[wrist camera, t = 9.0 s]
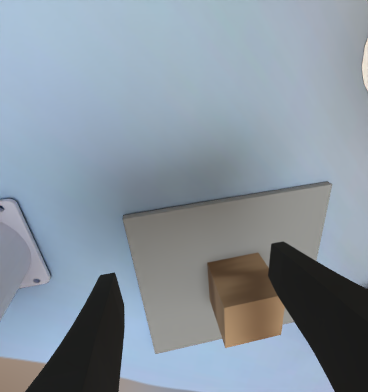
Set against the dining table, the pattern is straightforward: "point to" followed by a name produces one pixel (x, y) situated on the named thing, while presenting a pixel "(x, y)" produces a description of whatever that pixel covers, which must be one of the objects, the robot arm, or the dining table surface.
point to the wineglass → (365, 65)
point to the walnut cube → (244, 299)
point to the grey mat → (213, 253)
